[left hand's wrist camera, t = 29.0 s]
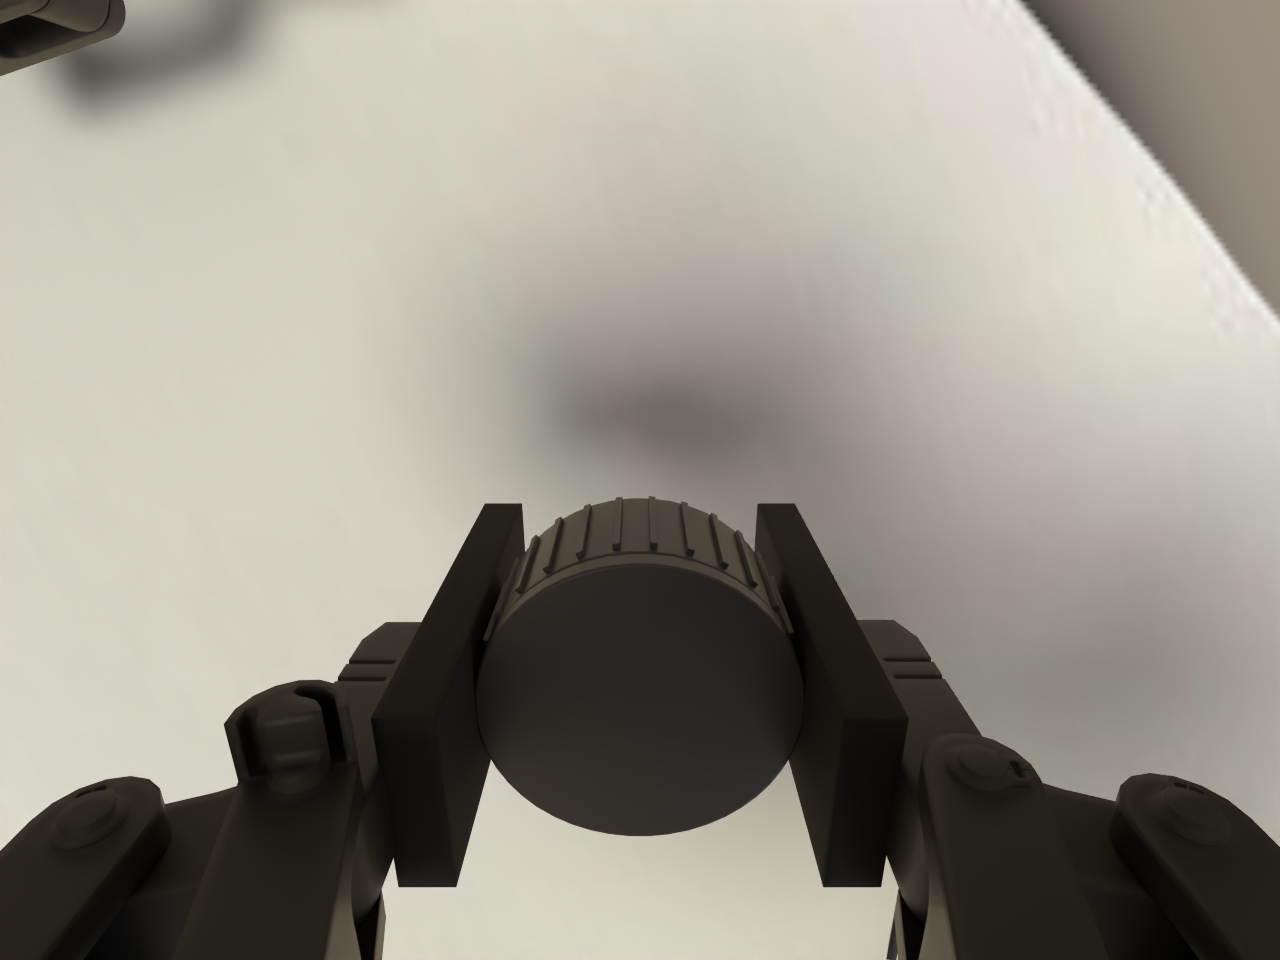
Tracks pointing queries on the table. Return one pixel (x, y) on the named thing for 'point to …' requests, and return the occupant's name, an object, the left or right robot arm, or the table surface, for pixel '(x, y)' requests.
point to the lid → (639, 671)
